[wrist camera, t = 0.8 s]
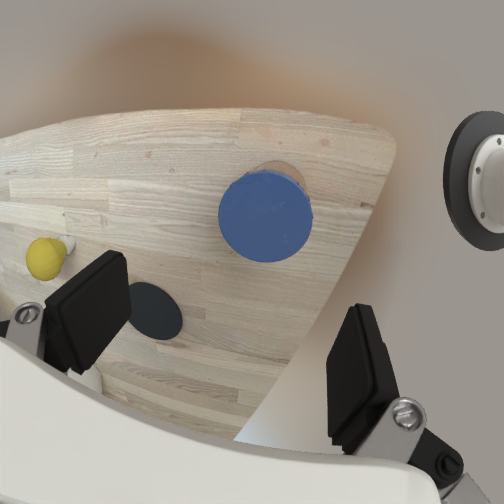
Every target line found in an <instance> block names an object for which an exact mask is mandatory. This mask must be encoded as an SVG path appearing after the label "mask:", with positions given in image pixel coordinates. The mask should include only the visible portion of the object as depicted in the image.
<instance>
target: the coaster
mask: <svg viewBox="0 0 504 504" xmlns="http://www.w3.org/2000/svg"><path fill="white" fill-rule="evenodd" d="M129 291H130V299H131V307H132V314H131V316H130V318H129V319H128V320H129V322H130V323H131V324H132V325H133V326H134V327H135V328H136V329H137V330H138V331H140V332H141V333H143V334H144V335H146V336H148V337H151V338H153V339H158V340H168V339H171V338H174V337H175V336H176V335H177V334H178V333H179V332H180V330H181V327H182V315H181V312H180V310H179V308H178V306H177V304H176V303H175V301H174V300H173V299H172V298H171V297H170V296H169V295H168V294H167V293H166V292H165V291H163V290H162V289H160V288H158V287H156V286H154V285H152V284H149V283H143V282H137V283H133V284H131V285H129Z"/></svg>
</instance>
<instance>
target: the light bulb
mask: <svg viewBox="0 0 504 504" xmlns="http://www.w3.org/2000/svg"><path fill="white" fill-rule="evenodd" d="M74 248H75V240H74V239H73V237H71V236H67V237H66V236H62V237H61V238H59V239H58V240H55V239H51V238H38V239H37V240H35V241H34V242H32V243H31V245H30V246H29V248H28V251H27V254H26V263H27V267H28V270H29V272H30V273H31V274H32V275H33V276H34V277H35V278H36V279H38V280H41V281H49V280H52V279H54V278H55V277H57V276H58V274H59V273H60V270H61V268H62V266H63V263H64V259H65V256H68V255H69V254H71V253H72V251H73V249H74Z"/></svg>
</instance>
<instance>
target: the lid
mask: <svg viewBox="0 0 504 504" xmlns="http://www.w3.org/2000/svg"><path fill="white" fill-rule="evenodd" d="M218 218H219V225H220V229H221V232H222V234H223V236H224V238H225V240H226V241H227V243H228V244H229V245H230V246H231V247H232V248H233V249H234V250H235V251H236V252H237V253H239V254H240V255H242V256H244V257H246V258H248V259H250V260H254V261H257V262H277V261H281V260H284V259H286V258H288V257H290V256H292V255H293V254H295V253H296V252H297V251H299V250H300V249H301V247H302V246H303V245H304V244H305V242H306V241H307V239H308V237H309V235H310V231H311V228H312V219H313V213H312V210H311V204H310V198H309V196H308V195H307V193H306V191H305V190H304V188H303V187H302V186H301V184H300V183H299V181H296V180H295V179H294V178H293V177H291V176H289V175H288V174H286V173H284V172H281V171H277V170H271V169H266V168H265V169H262V170H256V171H252V172H250V173H249V172H247V173H246V174H245V175H244V176H242V177H241V178H239V179H238V180H237V181H236V182H234V183H232V184H231V185H230V187H229V188H228V189H227V191H226V192H225V194H224V195H223V198H222V200H221V203H220V206H219V214H218Z"/></svg>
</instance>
